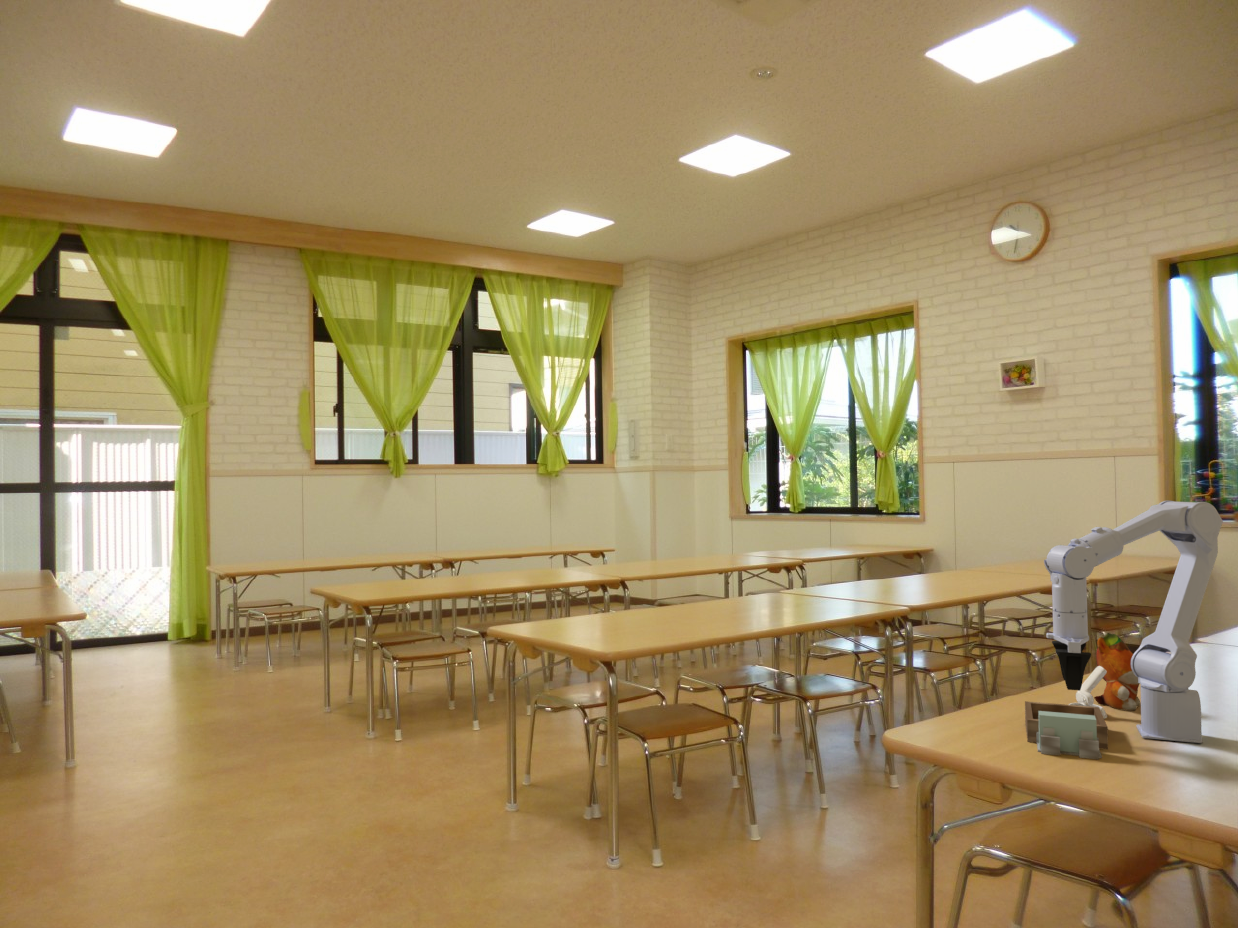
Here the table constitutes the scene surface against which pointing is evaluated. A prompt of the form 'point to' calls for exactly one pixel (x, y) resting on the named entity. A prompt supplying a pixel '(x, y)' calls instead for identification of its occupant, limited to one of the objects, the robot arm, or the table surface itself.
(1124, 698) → the toy
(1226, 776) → the table surface
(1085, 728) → the door
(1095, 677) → the white vr controller
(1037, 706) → the carcass
